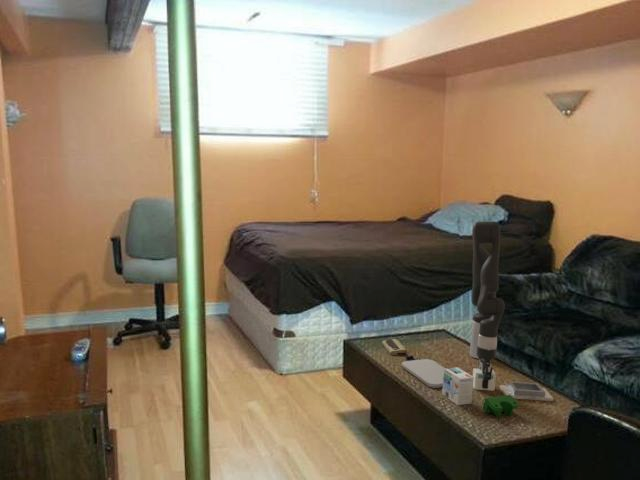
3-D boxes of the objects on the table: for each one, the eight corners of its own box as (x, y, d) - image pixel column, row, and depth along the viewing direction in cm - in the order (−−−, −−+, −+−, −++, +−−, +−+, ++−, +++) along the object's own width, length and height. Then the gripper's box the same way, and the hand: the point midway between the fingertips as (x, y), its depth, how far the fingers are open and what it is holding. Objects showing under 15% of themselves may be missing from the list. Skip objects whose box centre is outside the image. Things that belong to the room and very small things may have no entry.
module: (471, 384, 230) (473, 368, 228) (491, 385, 229) (492, 369, 228) (474, 389, 225) (476, 372, 224) (494, 390, 224) (496, 374, 223)
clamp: (493, 428, 201) (491, 410, 197) (484, 417, 207) (481, 400, 202) (521, 413, 204) (519, 396, 199) (511, 403, 209) (509, 386, 204)
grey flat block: (499, 387, 227) (500, 380, 227) (544, 390, 226) (545, 383, 226) (506, 397, 218) (507, 390, 217) (552, 401, 217) (553, 393, 216)
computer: (381, 344, 275) (382, 338, 275) (397, 344, 276) (397, 338, 276) (390, 356, 260) (390, 349, 259) (406, 355, 261) (407, 349, 261)
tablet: (430, 390, 223) (430, 384, 222) (398, 366, 247) (399, 361, 246) (464, 385, 229) (464, 380, 228) (429, 363, 253) (430, 358, 252)
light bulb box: (441, 394, 218) (443, 368, 217) (455, 392, 221) (457, 366, 219) (457, 405, 208) (459, 378, 207) (472, 403, 211) (474, 376, 209)
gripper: (473, 339, 231) (470, 377, 234) (481, 351, 217) (477, 392, 220) (491, 340, 231) (488, 379, 234) (501, 352, 217) (496, 393, 219)
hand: (483, 385), depth 227 cm, fingers closed on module, 5 cm apart
